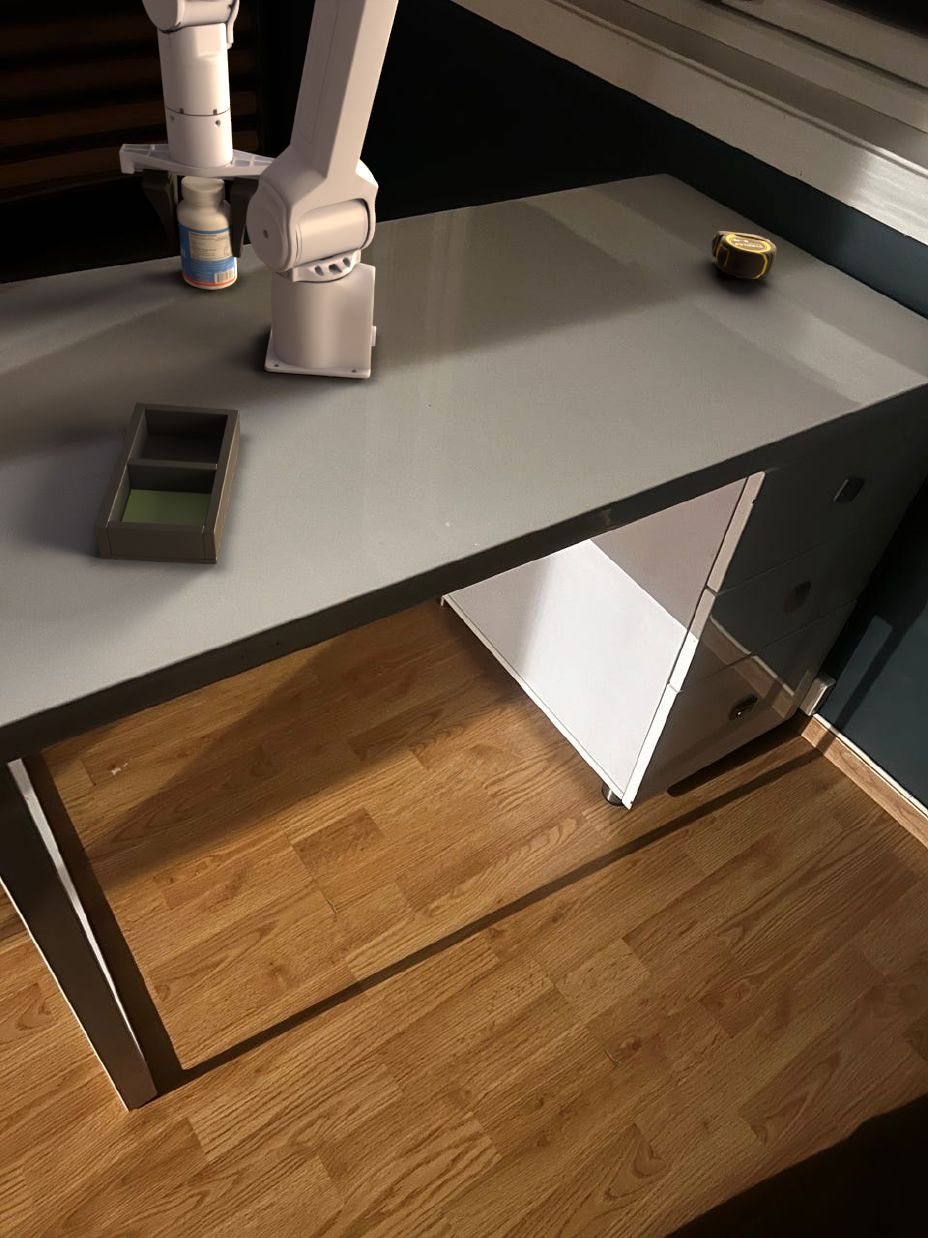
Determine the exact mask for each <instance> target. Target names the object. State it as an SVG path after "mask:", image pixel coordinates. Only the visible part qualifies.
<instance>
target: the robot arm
mask: <svg viewBox="0 0 928 1238" xmlns="http://www.w3.org/2000/svg"><path fill="white" fill-rule="evenodd" d="M142 4H143V7H144V8H145V11H146V14H147V15H148V17H149V19H150V21H151V22H152V24H154V26H155V27H156V28H157V29H156V30H157V41H158V51H159V52H158V53H159V60H160V72H161V81H162V92H163V93H162V94H163V100H164V101H163V103H164V112H165V123H166V124H165V125H166V133H167V143H156V144H155V143H153V144H152V143H151V144H131V143H129V144H128V143H123V144H122V146H121V147H120V149H119V151H118V154H119V162H120V163H119V164H120V170H121V173H122V174H130V175H132V174H134V173H135V172H141V173H142V175H143V177H142V179H143V180H142V182H141V189H142V191H143V193H144V195H145V197H146V198H147V199H148V201H149V202H150V204H151V206H153V208H154V210H155V212H156V213H157V215H158V217H159V219H160V221H161V223H162V226H163V228H164V231H165V232H166V235H167V238H168V241H169V245H170V248H171V252H172V253H177V254H180V243H179V233H178V223H177V206H178V204H179V195H178V176H182V177H185V176H192V177H203V178H213V179H222V180H223V181H224V180H226V181H232V184H231V186H230V189H229V192H228V193H229V195H228V196H229V204H230V206H231V212H232V222H233V257H234V258H236V259H241V258H242V255H243V251H244V237H245V230H246V231H247V235H248V239H249V242H250V244H251V247H252V249H253V251H254V253H255V254H256V256H257V258H258V259H259V260H260V261H261V262H262V263H263V264H264V265H265V266H266V267H267V268H268V269H269V270H270V271H269V272H270V304H271V306H270V307H271V328H270V333H269V339H268V345H267V350H266V355H265V361H264V370H265V371H267V372H271V373H272V372H273V373H285V374H299V375H311V376H312V375H313V376H314V375H315V376H327V377H339V378H351V379H352V378H353V379H368V378H370V376H371V362H372V361H371V360H372V347H376V334H377V333H376V332H377V326H376V325H373V321H374V304H375V303H374V301H375V281H376V280H375V279H376V267H375V266H373V265H370V264H367V263H362V262H361V257H362V255H361V254H362V250H364V249H366V248H367V247H368V246H369V245H370V244H371V243H372V241H373V238H374V235H375V231H376V212H375V211H376V210H375V209H376V208H375V204H376V202H375V201H376V197H377V194H378V189H379V185H378V182H377V181H376V178H374V175H373V174H372V172H371V171H370V169H369V167H368V166H367V165H366V164H365V163H364V162H363V161H362V160H361V159H360V157H361V153H362V149H363V145H364V141H365V137H366V133H367V129H368V125H369V120H370V117H371V113H372V109H373V105H374V100H375V96H376V92H377V89H378V85H379V80H380V75H381V72H382V67H383V64H384V60H385V56H386V53H387V47H388V43H389V39H390V34H391V31H392V27H393V24H394V19H395V15H396V11H397V7H398V4H399V0H315V2H314V7H313V14H312V19H311V25H310V30H309V36H308V42H307V47H306V53H305V60H304V64H303V70H302V75H301V81H300V87H299V92H298V98H297V103H296V109H295V115H294V121H293V126H292V131H291V137H290V143H289V145H288V146H287V147H286V148H285V150H284V151H282V152H281V153H280V154H279V155H277V157H276V158H274V157H267V156H262V155H258V154H255V153H251V152H246V151H241V150H238V149H233V137H232V121H231V119H232V117H231V105H230V104H231V102H230V101H231V99H230V82H229V81H230V80H229V61H228V50H229V49H231V48H232V44H233V43H234V36H233V35H234V34H233V33H234V31H233V28H234V22H235V20H236V18H237V15H238V12H239V6H240V0H142Z"/></svg>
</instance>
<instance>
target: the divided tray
mask: <svg viewBox="0 0 928 1238" xmlns="http://www.w3.org/2000/svg"><path fill="white" fill-rule="evenodd" d="M240 418H241V417H240V409H233V408H221V407H220V408H217V407H204V406H190V405H189V406H188V405H187V406H186V405H174V404H160V403H159V404H158V403H143V402H136V403H135V406H134V408H133V412H132V415H131V417H130V421H129V424H128V427H127V430H126V431H125V435H124V438H123V441H122V443H121V446H120V450H119V453H118V456H117V459H116V462H115V465H114V468H113V471H112V475H111V477H110V480H109V483H108V486H107V489H106V492H105V495H104V498H103V501H102V504H101V507H100V510H99V513H98V516H97V518H96V522H95V525H94V531H95V536H96V541H97V546H98V551H99V556H100V559H108V560H109V559H110V560H128V561H145V562H146V561H148V562H168V563H188V564H189V563H190V564H208V565H211V564H212V565H217V564H218V560H219V555H220V550H221V545H222V539H223V535H224V529H225V525H226V520H227V519H226V518H227V513H228V510H229V509H228V508H229V504H230V498H231V493H232V488H233V483H234V477H235V472H236V466H237V463H238V462H237V461H238V456H239V451H240V445H241V441H242V436H241V419H240Z"/></svg>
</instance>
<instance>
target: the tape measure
mask: <svg viewBox="0 0 928 1238" xmlns="http://www.w3.org/2000/svg"><path fill="white" fill-rule="evenodd" d="M710 246H711V247H710V248H711V255H712V257H713V258H715V259H714V261H715V265H716V266H717V267H718V268H719V269H720V270H721V271H722V272H724V273H726V274H728V275H731V276H734V277H736V278H738V279H739V278H740V279H748V280H753V279H754V280H757V279H762V278H765V277H767V276H768V275H769V274H770V273H771V271H772V269H773V266H774V264H775V261H776V257H777V254H778V253H777V252H778V249H777V247H776V245H775V244H774V243H773V242H772V241H771V240H770V239H768V238H767V237H763V236H760V235H756V234H750V233H743V232H733V231H725V230H718V231H717V232H716V233H715V234H714V235H713V236H712V240H711V242H710Z"/></svg>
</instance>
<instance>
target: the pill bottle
mask: <svg viewBox="0 0 928 1238" xmlns="http://www.w3.org/2000/svg"><path fill="white" fill-rule="evenodd" d="M180 185H181V196H182V198H183V199H182V200H181V201H180V202H178V206H177V223H178V233H179V243H180V252H179V254H180V264H181V273H182V277H183V279H184V281H185V282H186V283H187V284H189V285H190V286H193V287H195V288H198V289H202V290H210V291H211V290H222V289H225V288H227V287H230V286H232V285H233V284H234V283H235V281H236V280H237V277H238V270H237V267H238V266H237V258H234V257H233V222H232V212H231V204H230V202H228V201H227V200H225V199H226V188H225V181H224V179H213V178H203V177H192V176H183V177H182V179H181V180H180Z"/></svg>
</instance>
